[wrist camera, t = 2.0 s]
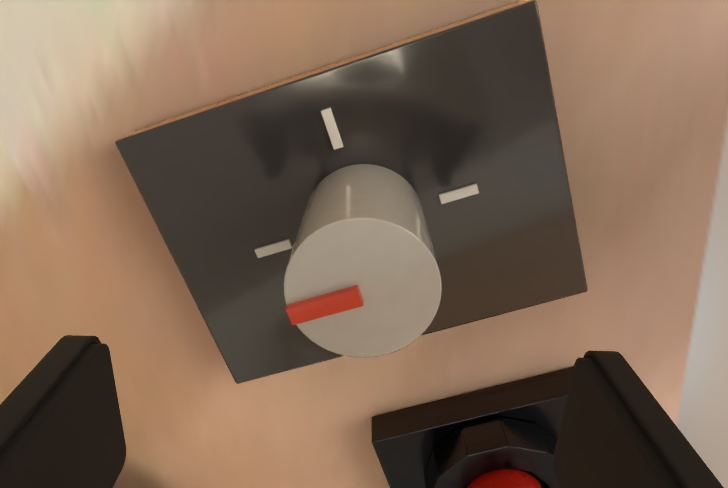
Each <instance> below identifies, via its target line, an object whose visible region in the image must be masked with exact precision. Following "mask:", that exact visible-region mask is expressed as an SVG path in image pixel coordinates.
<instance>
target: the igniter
mask: <svg viewBox="0 0 728 488" xmlns="http://www.w3.org/2000/svg"><path fill="white" fill-rule="evenodd" d="M573 370H574V367H572V368H568V369H564V370H560V371H556V372H552V373H548V374H544V375H540V376H536V377H532V378H528V379H524V380H520V381H516V382H511V383H507V384H503V385H499V386H495V387H491V388H487V389H483V390H479V391H475V392H471V393H467V394H463V395H459V396H455V397H451V398H447V399H443V400H439V401H435V402H431V403H426V404H422V405H418V406H414V407H410V408H406V409H402V410H398V411H394V412H390V413H386V414H382V415H378V416H374V417H372V444H373V446H374V449H375V451H376V454H377V456H378V459H379V461H380V464H381V466H382V469H383V471H384V474H385V476H386V479H387V481H388V484H389V486H390V488H466V487H467V486H468V484H469V483H470V482H471V481H472V480H474V479H475V478H476V477H478V476H479V475H481V474H483V473H486V472H491V471H495V470H500V469H504V468H510V469H517V470H521V471H524V472H526V473H528V474H530V475H531V476H533V477H534V478H535V479H536V480H537V481H538V482H539V483H540V485H541V487H542V488H559V487H558V485H557V482H556V480H555V477H554V473H553V456H554V452H555V447H556V443H557V439H558V434H559V430H560V426H561V421H562V417H563V413H564V408H565V404H566V400H567V395H568V391H569V387H570V383H571V378H572V374H573Z"/></svg>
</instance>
